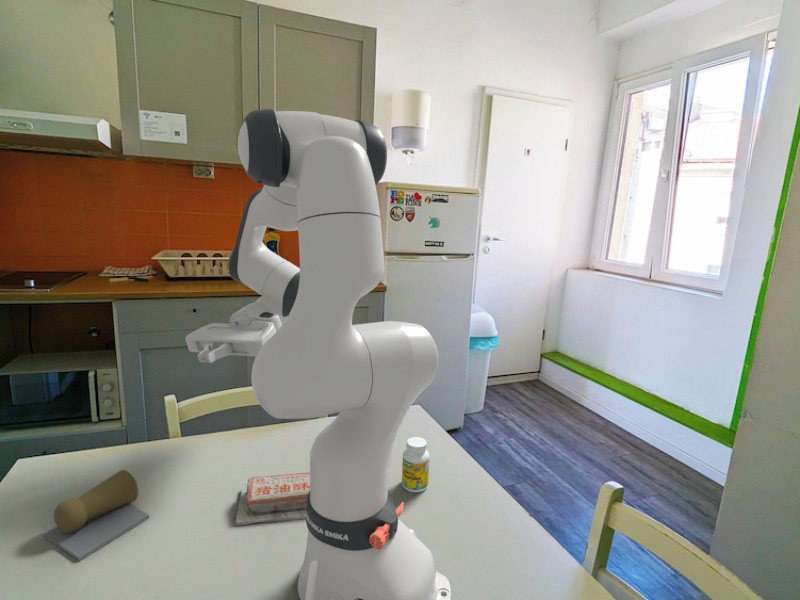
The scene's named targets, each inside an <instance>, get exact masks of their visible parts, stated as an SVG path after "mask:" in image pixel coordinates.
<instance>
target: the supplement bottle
mask: <svg viewBox="0 0 800 600" xmlns="http://www.w3.org/2000/svg"><path fill="white" fill-rule="evenodd" d="M427 444H428V443H427V440H426V439H424V438H423V437H419V436H413V437H409V438H408V439H407V440H406V446H405V447H406V448H405V449H404V450H403V452H402V462H401V463H402V464H401V465H402V467H401V469H402V470H401V485H402V487H403V488H404V489H405V490H406V491H408V492H411V493H422V492H424V491H425V490H427V488H428V486H429V477H430V475H429V471H430V458H431V457H430V453H429V451H428V450H427V448H428V445H427Z"/></svg>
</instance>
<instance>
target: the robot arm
mask: <svg viewBox="0 0 800 600" xmlns="http://www.w3.org/2000/svg"><path fill="white" fill-rule="evenodd" d="M237 136H238V137H237V151H238V156H239V159H240V162H241V164H242V167H243V168H244V173H245V174H246V175H247V177H249V178H250V179H251V180H252V181H253V182H255V183H257V184H261V185H263V187H262V188H261V187H260V188H258V189H256V190H255V191H254V192H253V193H251V195H250V196H249V198H248V199H247V201H246V204H245V206H244V209H243V212H242V215H241V220H240V224H239V227H238V231H237V235H236V239H235V243H234V246H233V248H232V251H231V252H230V254H229V257H228V261H227V269H228V272H229V275H230V278H231V279H232V280H234V281H236V282H238V283H239V284H241V285H244V286H246V287H248V288H250V289H251V290H252V291H255V293H257V294H258V295H261V296H260V297H259V298H258V299H257V300H256V301H255V302H252V303H248V304H247V305H245V306H243V307H242V308H241V309H239V310H238V311H236V312H234V313H233V314H232V315H230V318H229V322H228V323H221V322H218V323H217V322H214V323H209V324H206V325H204V326H201V327H200V328H197V329H196V330H194V331H192V332H191V333H189V334H187V335H186V336H185V339H184V340H185V343H186V346H187V348H188V350H189V352H192V353H198V354H197V359H198V361H199V362H200V363H210V364H213V362H216V361H217V360H220V359H222V358H225V357H228V356H243V357H254V360H253V364H252V367H251V376H250V377H251V387H252V390H253V393H254V396H255V398H256V399H257V403H259V405H260V406H261V408H262V409H263V410H265V412H266V413H268V414H269V415H270V416H271V417H273V418H274V419H281V420H282V419H283V420H285V419H288V420H290V419H291V420H292V419H293V420H294V419H314V418H315V419H316V418H319V417H323V416H328V415H333V414H337V413H338V414H337V416H336V417H335V418H334V419H333V420H332V421H331V422H330V423H329V424H328V425H326V426H325V427H324V428H323V429H322V430H320V432H318V434H317V436H316V437H315V439H314V441H313V443H312V445H311V449H310V452H309V472H310V491H309V493H308V495H307V504H306V518H305V523H306V527H307V529H308V530H307V538H306V539H307V541H306V548H305V552H304V553H305V555H304V558H303V563H302V566H301V569H300V572H299V574H298V578H297V594H298V597H299V600H452V589H451V584H450V581H449V579H448V578H447V577H446V576H444V575H443V574H442V573H440V572H439V571H437V570H436V569H437V567H436V564H435V558H434V556H433V554H432V552H431V550H430V549H429V548H428V547H427V546H426V545H425V544H424V543H423V542H422V541H421V540H420V539H419V538H418V536H417V534H416V532H415V531H414V530H413V529H412V528H410V527H407V526H406V524H404V522H402V521H401V520H400V518H399V517H400V516H401V514H402V513H403V511H404V510H405V509H404V505H405V502H404V501H402V502H401V503H400V505H399V506H398V507H397V508H396V507H395V504H394V501H393V498H392V495H391V493H390V491H389V482H390V481H389V479H390V467H391V460H392V459H391V457H392V451H393V448H394V447H393V446H394V444H395V441H396V440H395V439H396V437H397V434H398V431H399V429H400V427H401V425H402V423H403V421H404V419H405V417H406V415H407V413H408V412H409V410H410V408H411V406H412V405H413V403H414V402H415V401H416V399H417V398H418V397H419V396H420V395H421V394H422V393H423V391H424V390H425V389H426V388H427V387H429V386H430V384H432V382H434V380H435V377H436V374H437V371H438V367H439V351H438V347H437V344H436V341H435V340H434V338H433V336H432V335H431V333H430V331H428V329H426V328H425V327H424V326H422V325H421V324H418V323H411V322H406V321H398V320H396V321H394V320H385V321H384V320H383V321H375V322H368V323H366V322H365V323H357V324H353V316H354V312H355V308H356V306H357V303H358V302H359V300H360V299H361V298H363V297H364V296H366V295H367V294H369V293H370V292H371V291H373V290H374V289H375V288H376V287H378V285H379V284H380V283H381V281H382V280H383V277H384V274H385V270H386V266H385V256H384V255H385V254H384V244H383V233H382V231H383V230H382V220H381V211H380V202H379V197H378V192H377V185H378V184H379V183H380V181H381V180H382V178H383V177H384V174H385V172H386V167H387V161H388V159H387V158H388V149H387V142H386V140H385V137H384V135H383V132H382V131H381V130H380V128H379V127H378V126H376V125H375V124H372V123H370V122H367V121H364V120H360V119H356V120H350V119H347V118H344V117H340V116H338V117H337V116H334V115H329V114H320V113H318V112H316V111H315V112H314V111H306V110H305V111H300V110H284V111H283V110H281V111H280V110H279V111H274V109H273V108H264V109H263V108H262V109H256V110H251V111H250V112H249V113H248V114H247V115H246V116H245V117H243V120H242V125H241V127H240V129H239V132H238V135H237ZM267 228H272V229H274V230H278V231H283V232H294V231H297V232H298V249H299V266H297V265H295V264H293V263H292V262H291V261H288V260H287V259H285V258H283V257H281V255H278V254H276V253H275V252H274V251H272V250H270V249H269V248H268V247H267V246H266V245H265V244H264V242H263V240H264V237H265V233H266V230H267Z"/></svg>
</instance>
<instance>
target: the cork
mask: <svg viewBox="0 0 800 600" xmlns="http://www.w3.org/2000/svg"><path fill="white" fill-rule="evenodd" d="M138 495H139V488H138V484H137V481H136V480H135V477H134V476H133V474H131V473H130V471H128V470H125V469H121V470H119V471H118V472H116V473H114V474H113V475H111V476H110V477H108V478H107V479H105V480H104V481H102V482H100V483H99V484H98V485H96V486H95V487H93V488H91V489H90V490H89V489H88V490H87V491H86V492H85V493H83V494H82V495H80V496H78V497H76V498H75V497H71V498H67V499H65V500H62V502H60V503H59V504H58V505H57V506H56V507H55V509H54V511H53V519H54V523H55V525H56V527H58V528H59V529H60V530H61V531H62V532H64V533H71V532H74V531H76V530H78V529H80V528H81V527H82V526H84V524H85V523H86V521H88V520H90V519H92V518H95V517H97V516H99V515H102V514H104V513H107V512H109V511H111V510H114V509H116V508H118V507H121V506H123V505H125V504H130V503H132V502H133V503H134V501H136V500H137V498H138Z"/></svg>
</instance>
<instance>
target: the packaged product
mask: <svg viewBox="0 0 800 600" xmlns="http://www.w3.org/2000/svg"><path fill="white" fill-rule="evenodd" d="M309 491H310V471H309V472H300V473H287V474H286V473H285V474H278V475H277V474H276V475H274V474H273V475H265V476H253V477H250V478H249V477H248V479H247V484H242V489H241V493H240V497H239V502H238V507H237V513H236V517H235V518H236V519H235V525H236V526H242V525H243V526H244V525H250V524H255V523H256V524H257V523H268V522H279V521H281V522H282V521H289V520H290V521H291V520H300V519H301V520H302V519H306V504H307V495H308V493H309Z"/></svg>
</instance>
